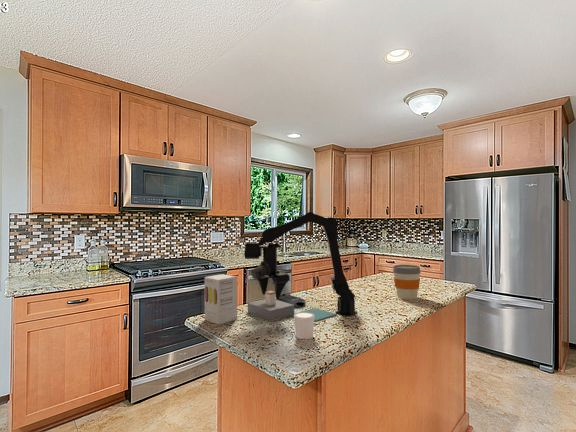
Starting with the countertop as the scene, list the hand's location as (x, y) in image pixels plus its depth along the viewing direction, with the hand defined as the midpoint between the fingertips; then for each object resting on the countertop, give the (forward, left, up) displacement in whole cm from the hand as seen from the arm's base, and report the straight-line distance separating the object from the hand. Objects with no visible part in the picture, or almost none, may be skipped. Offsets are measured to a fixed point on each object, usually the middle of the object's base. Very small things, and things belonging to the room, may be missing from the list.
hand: (270, 296), depth 131 cm
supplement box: (+7, +19, -7) cm, 22 cm away
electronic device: (+6, -17, -8) cm, 19 cm away
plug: (0, 0, -7) cm, 7 cm away
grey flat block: (0, 0, -7) cm, 7 cm away
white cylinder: (-28, +7, -7) cm, 30 cm away
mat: (-14, -12, -7) cm, 20 cm away
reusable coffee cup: (-24, -65, -7) cm, 70 cm away
